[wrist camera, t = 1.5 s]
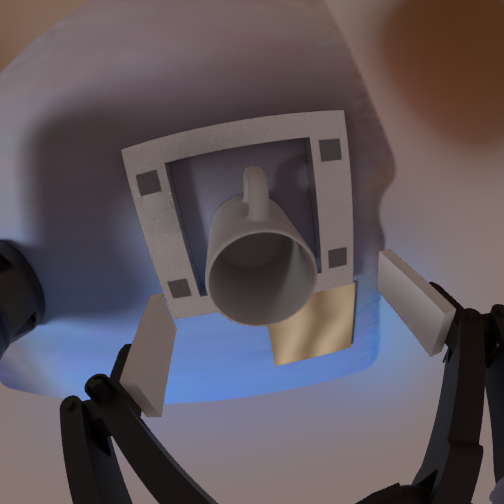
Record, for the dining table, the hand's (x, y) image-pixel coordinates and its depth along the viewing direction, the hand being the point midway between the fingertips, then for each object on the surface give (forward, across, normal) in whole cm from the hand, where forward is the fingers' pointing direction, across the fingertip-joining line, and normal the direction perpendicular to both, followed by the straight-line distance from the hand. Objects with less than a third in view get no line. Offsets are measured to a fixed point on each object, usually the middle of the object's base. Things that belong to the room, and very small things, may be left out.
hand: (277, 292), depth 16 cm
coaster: (+15, +6, -17) cm, 23 cm away
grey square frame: (+15, 0, 0) cm, 15 cm away
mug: (+15, 0, 0) cm, 15 cm away
